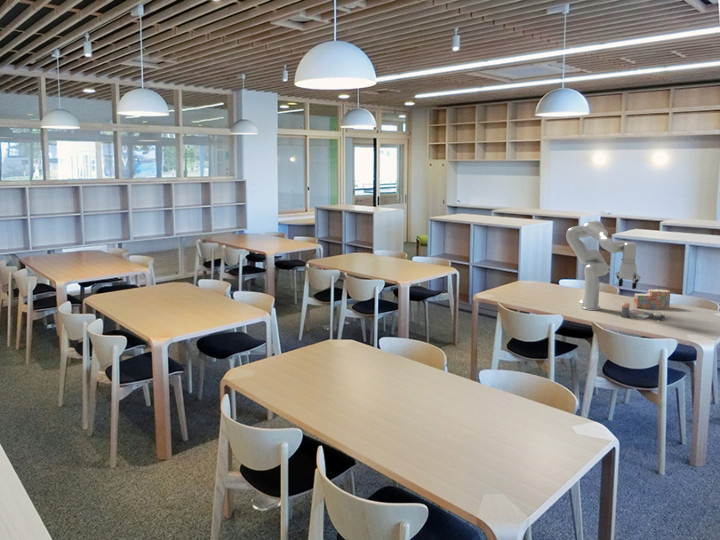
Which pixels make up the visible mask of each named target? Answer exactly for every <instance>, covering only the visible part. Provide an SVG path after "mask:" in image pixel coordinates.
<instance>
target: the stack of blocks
mask: <svg viewBox="0 0 720 540" xmlns="http://www.w3.org/2000/svg"><path fill="white" fill-rule="evenodd" d="M647 292H648V293H634V298H633V299H634V300H633V307H634V308H635V309H656V310H657V309H660V308H661V309H662V310H663V308H665V309H664V310H666V309H667V308H669V309H670V303H671V291H670V290H668V289H661V288H660V289H648V291H647ZM667 310H668V309H667Z"/></svg>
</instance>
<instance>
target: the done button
mask: <svg viewBox="0 0 720 540" xmlns="http://www.w3.org/2000/svg"><path fill="white" fill-rule="evenodd" d="M652 314H653V316H657V317H660V316H661V315H662V312H660V311H654V312H653V313H652Z"/></svg>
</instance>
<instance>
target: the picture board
mask: <svg viewBox="0 0 720 540" xmlns="http://www.w3.org/2000/svg"><path fill="white" fill-rule="evenodd" d="M620 314H622V311H621V312H620ZM652 314H653V313H651V312H646V311H643V310H642V311H641V310H637V309H631V310H630V309H629V317H633V318H638V319H642V320H647V319H649V315H652Z"/></svg>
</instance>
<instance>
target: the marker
mask: <svg viewBox="0 0 720 540" xmlns="http://www.w3.org/2000/svg"><path fill="white" fill-rule="evenodd" d="M630 306H631V305H630V302H621V312H622V314H621V313H620V314H621V318H623V319H628V318H629V317H630V316H629V311H630Z"/></svg>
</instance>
